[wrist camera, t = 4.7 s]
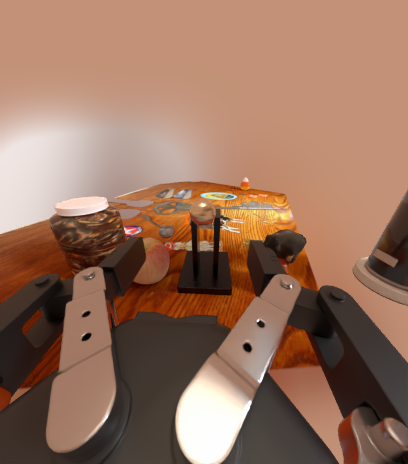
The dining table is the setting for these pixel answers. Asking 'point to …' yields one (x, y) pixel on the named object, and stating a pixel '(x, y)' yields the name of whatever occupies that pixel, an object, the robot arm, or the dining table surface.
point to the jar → (87, 231)
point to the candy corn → (245, 184)
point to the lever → (203, 213)
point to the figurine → (285, 246)
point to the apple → (153, 262)
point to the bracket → (206, 266)
